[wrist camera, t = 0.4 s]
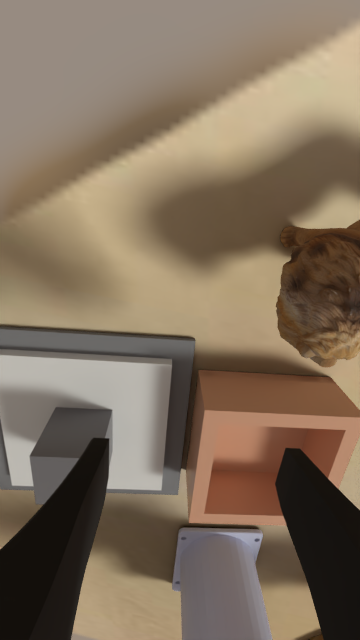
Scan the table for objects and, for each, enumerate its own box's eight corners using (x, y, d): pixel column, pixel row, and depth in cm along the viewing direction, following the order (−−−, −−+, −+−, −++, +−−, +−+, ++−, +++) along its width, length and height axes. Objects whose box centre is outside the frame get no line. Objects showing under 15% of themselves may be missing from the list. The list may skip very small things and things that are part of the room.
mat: (177, 490, 27) (177, 494, 27) (2, 485, 26) (0, 489, 26) (194, 338, 21) (195, 341, 21) (-28, 324, 20) (-32, 327, 20)
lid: (161, 481, 26) (159, 547, 21) (16, 476, 25) (-20, 543, 20) (172, 358, 21) (172, 406, 17) (-5, 348, 21) (-58, 395, 16)
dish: (299, 474, 27) (323, 526, 22) (185, 470, 26) (188, 522, 22) (330, 377, 23) (366, 417, 19) (198, 369, 22) (204, 410, 18)
